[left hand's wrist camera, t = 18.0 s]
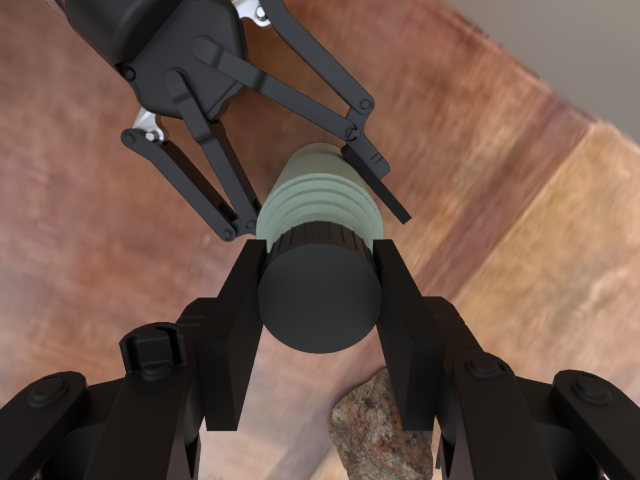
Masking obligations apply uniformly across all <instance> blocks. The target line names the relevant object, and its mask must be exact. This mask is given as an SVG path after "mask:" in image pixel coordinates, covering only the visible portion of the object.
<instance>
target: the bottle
mask: <svg viewBox="0 0 640 480" xmlns="http://www.w3.org/2000/svg"><path fill="white" fill-rule="evenodd" d="M316 220H318V221H328V222H329V221H331V222H333V223H337V224H340V225H341V224H342V225H344V226H345V227H347V228H349V229H350V230H352V231H353V230H354V231H355V233H356V234H357V235H358V236H359V237H360V238H361V239H362V238H363V239H364V242H365V244H366V246H367V247H368V248H370V250H371V253H372V249H373V239H383V235H384V230H383V222H382V217H381V214H380V212H379V209H378V207H377V205H376V204H375V202H374V200H373V198H372V196H371V195H370V193H369V191H368V189H367V187H366V186H365V184H364V182H363V180H362V178H361V177H360V175H359V174H358V173H357V171H356V170H355V169H354V168H353V167H352V166H351V165H350V163H349V162H348V161H347V160H346V159H345V158H344V157H343V155H342V154H341V151H340V148H338V147H336V146H334V145H331V144H328V143H312V144H308V145H306V146H303V147H302V148H300V149H298V150H297V151H296V152H295V153H294V154H293V155H292V156H291V157H290V158H289V160H288V162H287V163H286V165H285V167H284V169H283V171H282V172H281V174H280V176H279V178H278V179H277V181H276V183H275V185H274V187H273V188H272V190H271V192H270V194H269V196H268V197H267V199H266V201H265V203H264V205H263V206H262V208H261V211H260V213H259V216H258V220H257V225H256V239H267V253H270V250H271V247H272V244H273V243H275V242H276V241H277V239H278V238H279V237H280V236H281V234H282V233H283V234H284V233H285V232H286V231H288V230H289V229H291V227H295V226H297V225H299V224H303V222H305V223H306V222H312V221H316Z"/></svg>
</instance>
